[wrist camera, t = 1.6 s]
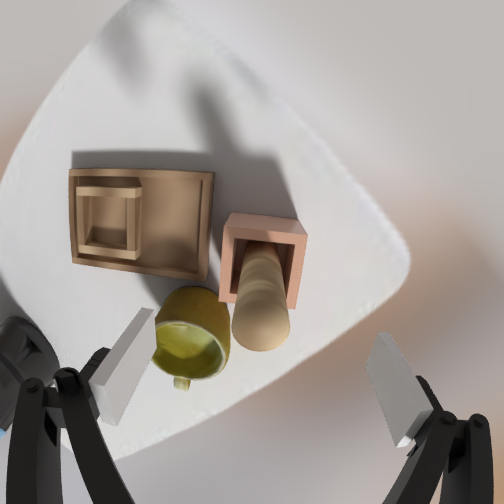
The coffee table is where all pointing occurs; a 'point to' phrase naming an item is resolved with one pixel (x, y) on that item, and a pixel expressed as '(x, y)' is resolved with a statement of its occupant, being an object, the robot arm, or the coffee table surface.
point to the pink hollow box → (262, 229)
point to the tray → (142, 220)
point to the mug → (192, 336)
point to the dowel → (261, 299)
